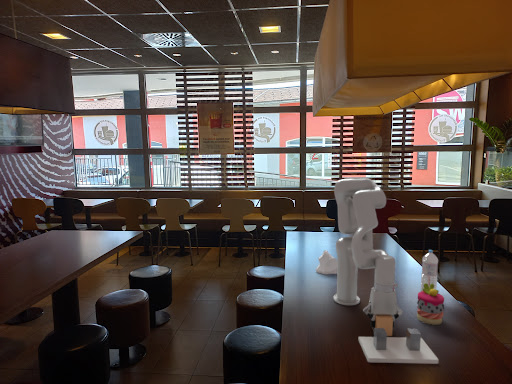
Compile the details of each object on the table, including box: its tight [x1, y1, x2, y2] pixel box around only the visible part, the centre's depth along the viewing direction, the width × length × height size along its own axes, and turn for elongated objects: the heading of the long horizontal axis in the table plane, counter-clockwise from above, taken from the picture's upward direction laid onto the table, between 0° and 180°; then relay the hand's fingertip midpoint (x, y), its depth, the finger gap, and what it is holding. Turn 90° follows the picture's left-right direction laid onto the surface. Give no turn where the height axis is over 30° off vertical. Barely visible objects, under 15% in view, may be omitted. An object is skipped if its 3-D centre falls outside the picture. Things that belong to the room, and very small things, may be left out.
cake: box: [416, 283, 445, 326], centre depth 152 cm, size 10×11×15 cm
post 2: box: [405, 328, 422, 351], centre depth 128 cm, size 4×4×8 cm
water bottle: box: [420, 249, 439, 292], centre depth 170 cm, size 7×7×25 cm
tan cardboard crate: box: [371, 315, 393, 337], centre depth 141 cm, size 6×6×8 cm
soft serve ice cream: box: [315, 249, 337, 275], centre depth 210 cm, size 12×15×14 cm
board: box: [358, 336, 440, 365], centre depth 129 cm, size 14×24×2 cm, turn 87°
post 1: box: [373, 328, 388, 350], centre depth 129 cm, size 4×4×8 cm
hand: (381, 328), depth 142 cm, fingers closed on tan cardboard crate, 6 cm apart
